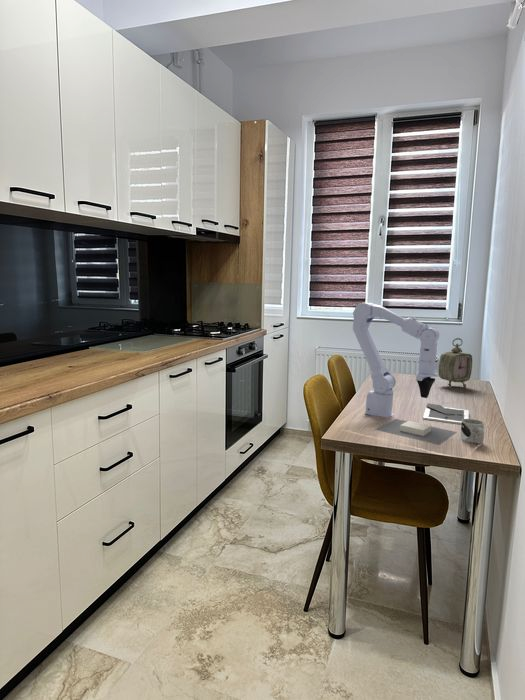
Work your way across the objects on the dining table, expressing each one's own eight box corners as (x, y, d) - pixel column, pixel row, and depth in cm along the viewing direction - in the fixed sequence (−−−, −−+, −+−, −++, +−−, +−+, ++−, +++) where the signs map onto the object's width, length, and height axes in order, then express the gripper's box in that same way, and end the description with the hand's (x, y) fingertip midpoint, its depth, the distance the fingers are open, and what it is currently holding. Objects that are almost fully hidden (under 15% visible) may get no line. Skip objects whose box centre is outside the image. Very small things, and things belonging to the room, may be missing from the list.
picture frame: (426, 409, 198) (422, 422, 179) (427, 403, 197) (423, 415, 178) (468, 415, 192) (468, 429, 173) (468, 408, 191) (469, 421, 172)
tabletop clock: (449, 390, 235) (454, 339, 231) (435, 386, 243) (439, 337, 239) (469, 388, 241) (474, 338, 238) (455, 384, 249) (459, 336, 246)
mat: (374, 430, 163) (374, 429, 163) (395, 420, 177) (396, 418, 177) (439, 446, 150) (439, 444, 150) (456, 433, 164) (457, 432, 164)
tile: (407, 426, 168) (399, 430, 163) (408, 420, 168) (400, 425, 163) (430, 431, 163) (423, 436, 158) (431, 425, 163) (423, 430, 158)
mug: (456, 437, 160) (458, 418, 159) (475, 438, 160) (477, 418, 159) (471, 448, 150) (473, 427, 149) (491, 448, 150) (493, 428, 149)
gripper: (431, 364, 165) (428, 402, 167) (445, 360, 176) (441, 396, 178) (411, 361, 169) (408, 399, 171) (426, 357, 181) (423, 392, 183)
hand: (424, 397), depth 175 cm, fingers closed
